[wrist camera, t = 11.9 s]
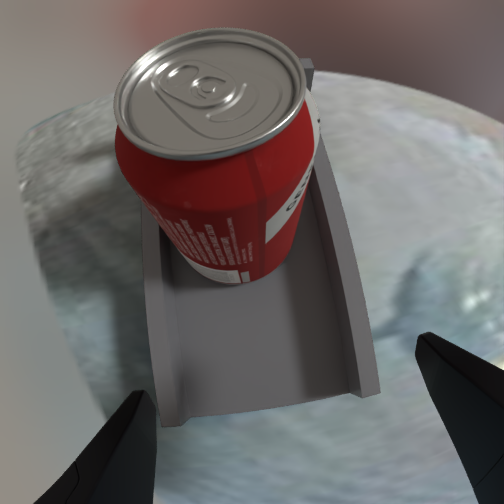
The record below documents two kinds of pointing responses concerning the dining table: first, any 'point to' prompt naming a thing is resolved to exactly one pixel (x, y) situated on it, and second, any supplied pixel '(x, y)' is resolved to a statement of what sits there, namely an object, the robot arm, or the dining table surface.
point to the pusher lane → (261, 318)
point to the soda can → (220, 147)
